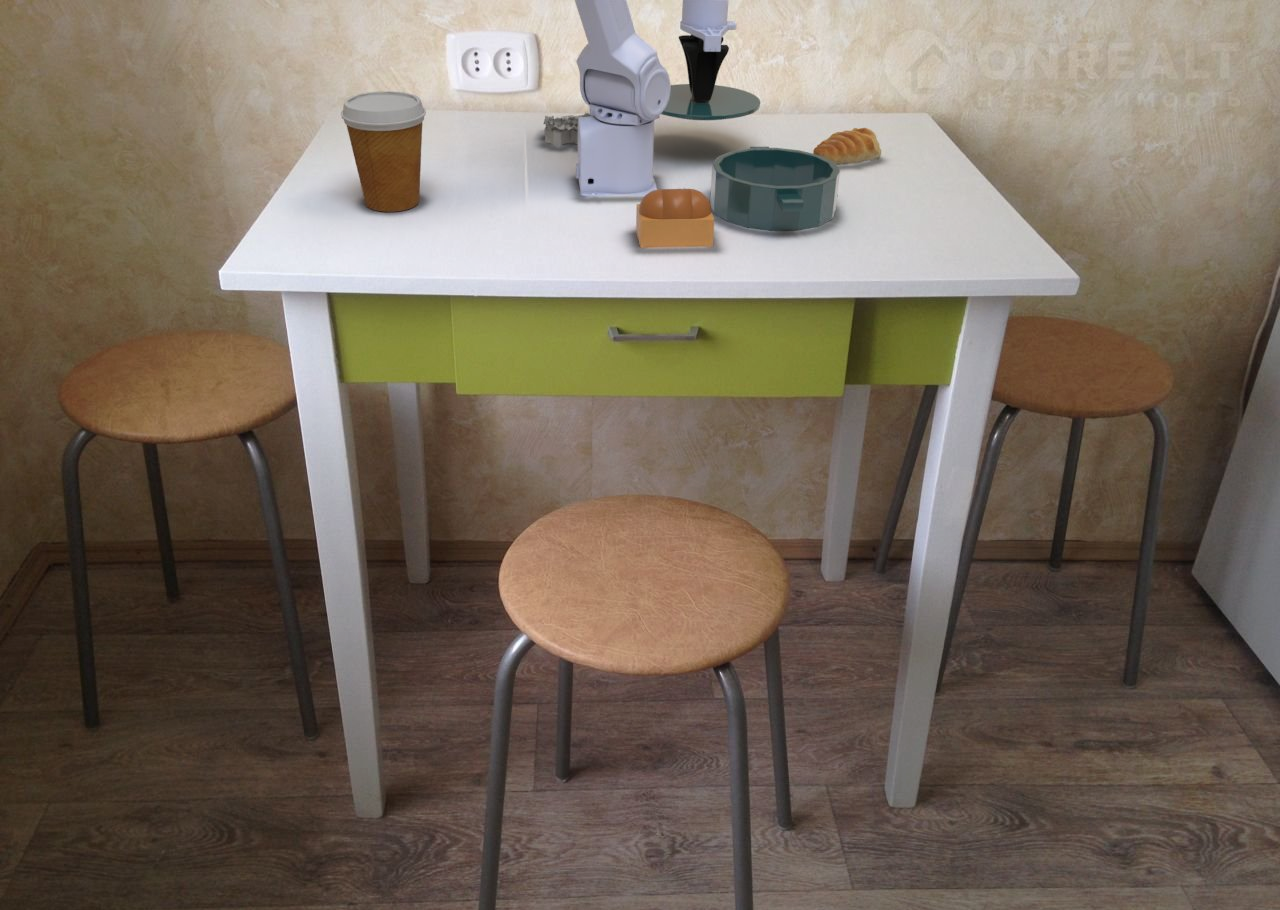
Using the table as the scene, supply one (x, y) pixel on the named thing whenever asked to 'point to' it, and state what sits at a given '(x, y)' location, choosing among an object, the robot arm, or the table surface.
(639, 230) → the bread
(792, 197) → the pot
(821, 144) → the pastry
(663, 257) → the table surface
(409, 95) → the disposable coffee cup
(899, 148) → the table surface
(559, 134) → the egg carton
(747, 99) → the lid
